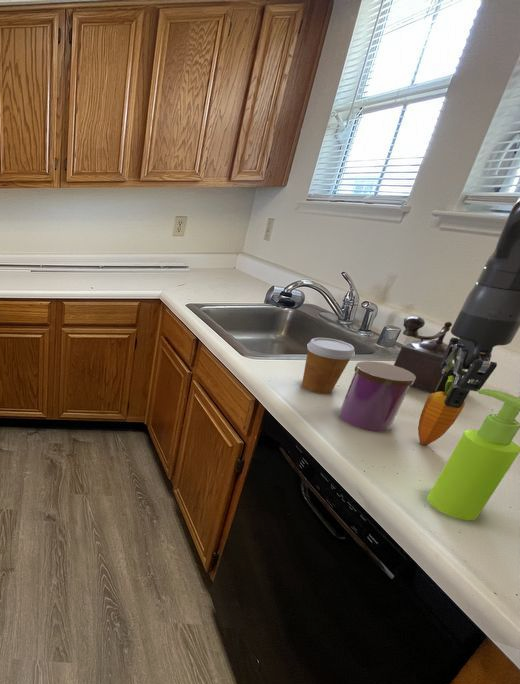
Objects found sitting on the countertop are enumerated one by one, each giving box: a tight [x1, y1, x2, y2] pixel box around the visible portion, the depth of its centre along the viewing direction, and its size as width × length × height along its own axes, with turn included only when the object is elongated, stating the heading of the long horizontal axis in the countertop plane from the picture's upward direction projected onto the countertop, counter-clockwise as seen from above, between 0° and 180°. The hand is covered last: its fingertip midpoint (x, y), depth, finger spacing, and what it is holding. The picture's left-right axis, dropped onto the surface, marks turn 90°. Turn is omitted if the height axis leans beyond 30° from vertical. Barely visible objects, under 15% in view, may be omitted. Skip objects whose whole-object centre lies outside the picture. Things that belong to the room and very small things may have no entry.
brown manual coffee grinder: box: [393, 315, 455, 394], centre depth 103 cm, size 16×11×18 cm
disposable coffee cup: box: [301, 337, 356, 395], centre depth 102 cm, size 10×10×12 cm
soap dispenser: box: [426, 388, 520, 521], centre depth 63 cm, size 6×7×20 cm
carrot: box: [417, 376, 466, 446], centre depth 79 cm, size 5×5×15 cm
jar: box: [338, 360, 416, 433], centre depth 88 cm, size 10×10×12 cm
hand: (446, 399), depth 78 cm, fingers open, 5 cm apart
